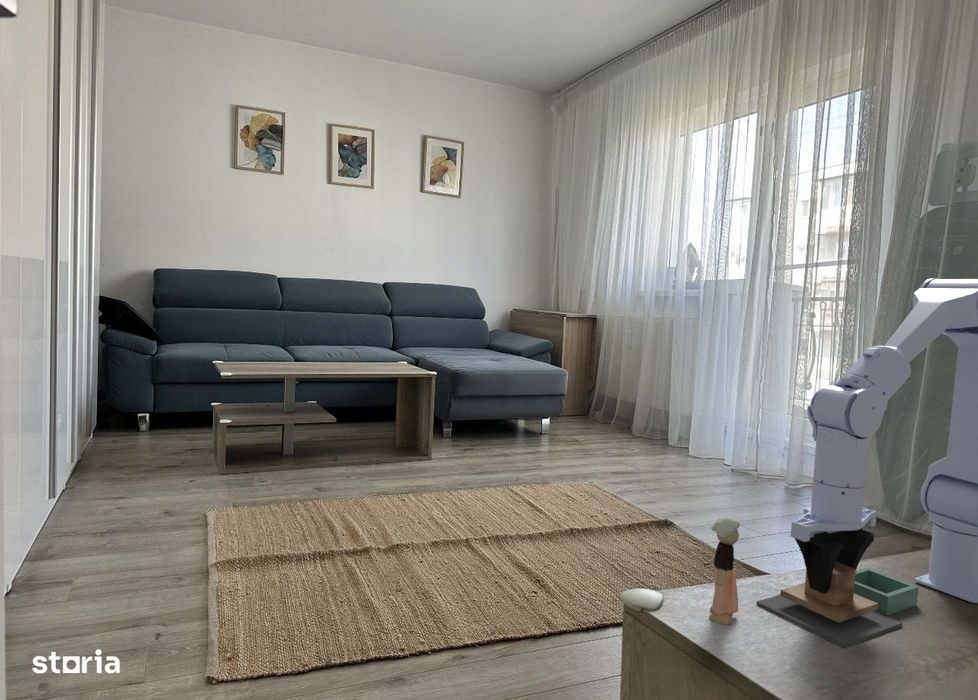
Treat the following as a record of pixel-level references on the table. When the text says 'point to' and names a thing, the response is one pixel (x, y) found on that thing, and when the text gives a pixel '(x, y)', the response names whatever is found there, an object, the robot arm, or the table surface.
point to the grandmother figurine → (725, 571)
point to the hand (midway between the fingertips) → (829, 587)
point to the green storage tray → (885, 591)
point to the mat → (831, 622)
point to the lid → (832, 596)
